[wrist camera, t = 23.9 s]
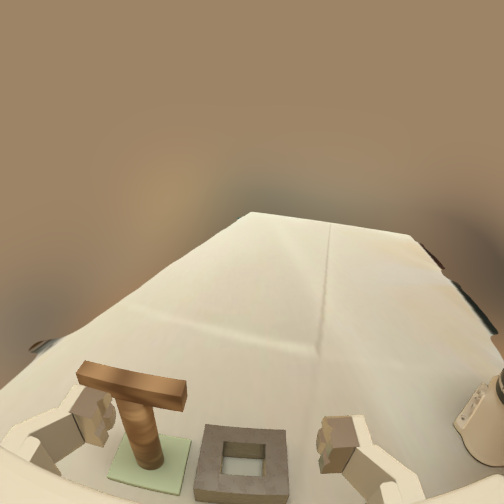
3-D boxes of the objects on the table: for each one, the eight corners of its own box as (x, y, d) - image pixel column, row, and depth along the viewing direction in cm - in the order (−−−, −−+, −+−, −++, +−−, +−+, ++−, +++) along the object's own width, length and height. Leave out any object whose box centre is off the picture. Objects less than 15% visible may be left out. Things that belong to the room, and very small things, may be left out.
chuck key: (194, 456, 36) (187, 375, 30) (190, 478, 32) (179, 402, 26) (115, 439, 36) (87, 356, 30) (106, 458, 32) (72, 377, 26)
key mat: (191, 441, 39) (190, 439, 39) (179, 495, 29) (179, 494, 29) (128, 429, 39) (127, 427, 39) (108, 478, 29) (106, 476, 29)
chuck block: (281, 445, 39) (285, 429, 38) (284, 506, 29) (289, 495, 28) (206, 439, 40) (205, 424, 38) (195, 500, 29) (193, 488, 28)
